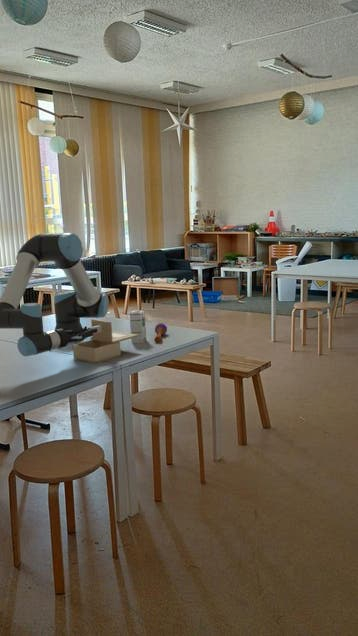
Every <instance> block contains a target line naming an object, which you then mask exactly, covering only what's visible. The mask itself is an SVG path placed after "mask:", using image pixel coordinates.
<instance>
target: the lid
mask: <svg viewBox="0 0 358 636" xmlns="http://www.w3.org/2000/svg"><path fill="white" fill-rule="evenodd" d="M90 322H91V327H94V326H98V325H102V332H99V333H95V334H93V336H91V337H89V338H90V340H97V341H103V342H108V343H116V342H120V343H121V342H122V341H126V340H127V341H128V340H131V338H135V337H138V335H136V334H131V332H130V333H129V332H124V331H122V332H121V331H117V330H114V331H113V328H112V322H111V321H107V320H101V319H99V320H98V319H94V318H91V320H90Z"/></svg>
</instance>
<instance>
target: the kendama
mask: <svg viewBox="0 0 358 636" xmlns="http://www.w3.org/2000/svg"><path fill="white" fill-rule="evenodd" d="M167 331H168V326H167V324H165V323H157V324H156V325H155V327H154V332H155V334H156V336H155V337H154V342H155V344H160V343H162V341H163V339H162V336H164V335H166V333H167Z"/></svg>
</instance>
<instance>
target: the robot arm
mask: <svg viewBox="0 0 358 636" xmlns="http://www.w3.org/2000/svg"><path fill="white" fill-rule="evenodd" d="M82 243H83V242H82V240H81V238H80V237H79V236H78V235H77V234H76V233H73V232H58V233H57V232H54V233H39V234H36V235H34V236H31V237H30V238H29V239H28V240H27V241H25V243H24V244H23V245H22V246H21V247H20V248H19V250H18V252H17V255H16V257H15V260H16V262H15V265H14V267H13V269H12V271H11V273H10V276H9V278H8V280H7V282H6V285H5V287H4V289H3V291H2V294H1V296H0V329H1V330H2V329H15V330H16V329H19V330H22V334H23V336H22V337H20V338H19V339H18V340H17V345H16V346H17V350H18V352H19V353H20V355H22V356H23V357H30V356H36V355H38V354H43V353H46V352H49V353H52V351H53V350H58V349H61V348H62V349H63V348H65V347H67V346H68V344H69V342H70V343H71V342H78V341H79V342H81V341H82V340H84V339H87V338H91V337H93V334H95V333H99V332H102V325H98V326H94V327H92V326H90V327H88V326H84V327H83V325H82V324H81V319H82V318H84V319H99V318H101V319H102V318H105V317H106V316H107V314H108V312H109V304H110V303H109V297H108V295H109V294H107V293H106V292H101V291H100V290H99V288H98V287H96V286H94V284H93V282H92V281H91V279H90V276H89V275H88V273H87V270H86V269H85V267H84V264H83V263H82V261H81V259H82V257H83V252H84V251H83V246H82V245H83V244H82ZM44 262H54V264H55V266H56V267H57V268H58V269H60V270H62V271H63V273H64V275H65V276H66V278H67V279H68V281H69V284H70V285H71V286H72V289H73V290H68V291H64V292H60V293H56V294H55V295H54V297H53V305H54V315H55V317H54V318H55V327H54V329H53V330H52V329H51V330H47V331H44V322H43V313H42V306H41V303H38V302H28V303H23V304H21V305H20V303H21V301H22V298H23V297H24V294H25V292H26V289H27V287H28V284H29V282H30V280H31V278H32V276H33V273H34V271H35V269H37V268H38V267H39V265H40V263H41V264H42V263H44ZM19 305H20V308H19Z"/></svg>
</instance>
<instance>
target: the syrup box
mask: <svg viewBox="0 0 358 636" xmlns="http://www.w3.org/2000/svg"><path fill="white" fill-rule="evenodd" d="M128 315H129V324H130V326H129V327H130V334H136V335H138V337H135V338H131V339H130V340H131V343H133V344H144V343H145V342H147V329H146V318H145V316H146V315H145V310H144V309H143V310H142V309H136V310H132V311H130V312H129V314H128Z"/></svg>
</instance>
